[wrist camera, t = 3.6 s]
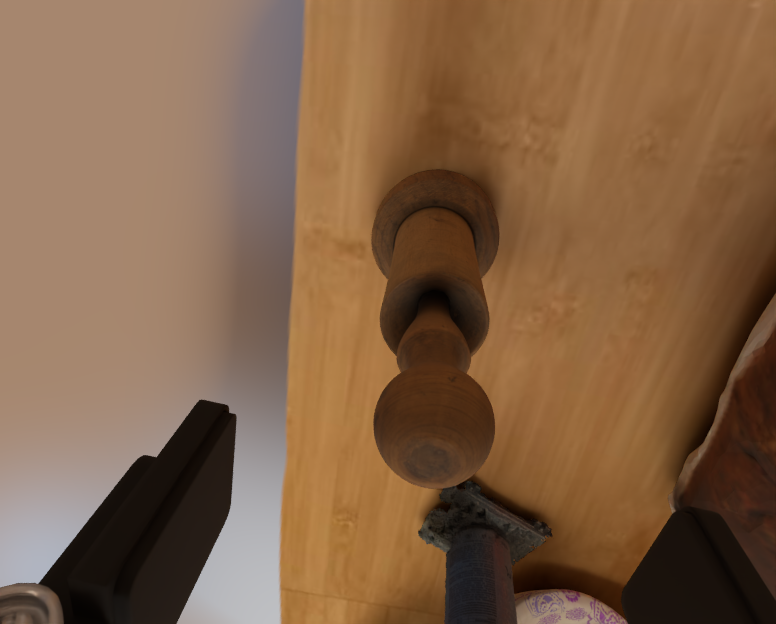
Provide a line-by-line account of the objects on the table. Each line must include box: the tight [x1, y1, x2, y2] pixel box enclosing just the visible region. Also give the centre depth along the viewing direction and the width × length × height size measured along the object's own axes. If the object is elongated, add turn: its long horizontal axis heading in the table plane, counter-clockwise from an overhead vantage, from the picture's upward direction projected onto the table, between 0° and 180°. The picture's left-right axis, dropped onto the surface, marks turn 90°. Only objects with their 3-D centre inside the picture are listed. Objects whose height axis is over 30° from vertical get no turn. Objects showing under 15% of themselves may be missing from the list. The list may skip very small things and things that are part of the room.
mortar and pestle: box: [372, 170, 499, 489], centre depth 19 cm, size 7×6×18 cm
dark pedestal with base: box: [418, 481, 553, 624], centre depth 31 cm, size 9×8×12 cm
